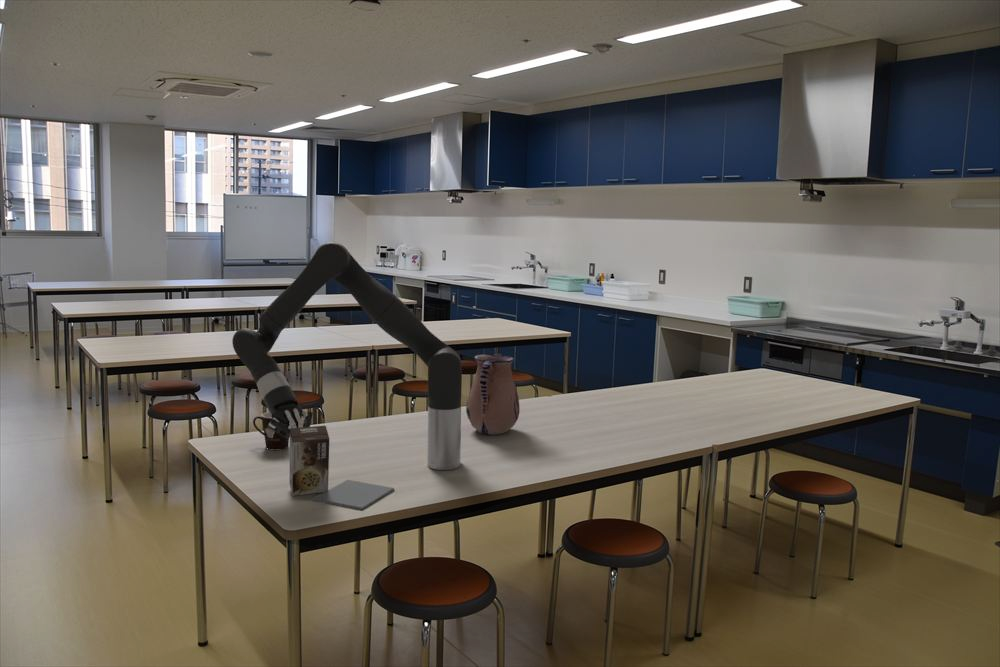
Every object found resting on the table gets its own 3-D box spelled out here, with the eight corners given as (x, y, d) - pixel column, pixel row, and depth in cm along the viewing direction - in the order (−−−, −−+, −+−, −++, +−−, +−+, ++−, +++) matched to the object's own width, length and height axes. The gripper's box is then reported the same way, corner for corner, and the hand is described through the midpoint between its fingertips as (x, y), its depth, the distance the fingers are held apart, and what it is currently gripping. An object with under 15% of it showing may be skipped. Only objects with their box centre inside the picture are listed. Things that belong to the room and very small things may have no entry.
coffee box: (324, 478, 202) (326, 424, 196) (328, 492, 197) (330, 438, 190) (288, 481, 199) (289, 427, 193) (291, 496, 194) (292, 441, 187)
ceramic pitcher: (520, 425, 264) (522, 352, 260) (515, 443, 243) (517, 364, 239) (469, 423, 266) (470, 350, 262) (460, 440, 245) (461, 362, 241)
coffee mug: (297, 447, 234) (297, 414, 233) (272, 453, 228) (271, 419, 226) (276, 439, 242) (275, 407, 240) (251, 444, 236) (250, 412, 234)
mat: (347, 482, 205) (347, 479, 205) (394, 490, 200) (394, 487, 200) (313, 500, 191) (313, 498, 191) (362, 509, 186) (362, 507, 186)
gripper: (259, 388, 196) (288, 445, 190) (303, 380, 206) (332, 434, 200) (248, 405, 200) (276, 461, 194) (292, 397, 210) (320, 450, 204)
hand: (305, 448), depth 197 cm, fingers closed
